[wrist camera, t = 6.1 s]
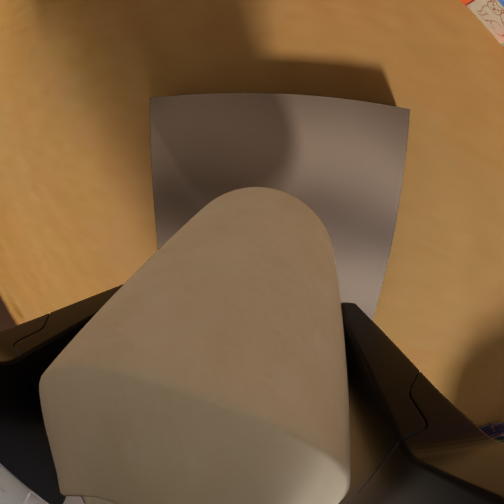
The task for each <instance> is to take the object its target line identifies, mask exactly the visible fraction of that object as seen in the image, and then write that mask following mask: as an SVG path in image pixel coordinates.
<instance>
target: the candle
mask: <svg viewBox="0 0 504 504" xmlns="http://www.w3.org/2000/svg"><path fill="white" fill-rule="evenodd" d="M39 394H40V401H41V408H42V414H43V419H44V424H45V428H46V433H47V436H48V440H49V444H50V448H51V452H52V456H53V460H54V464H55V468H56V472H57V477H58V483H59V489H60V493H61V494H62V495H64V496H81V497H82V499H83V502H84V504H338V503H339V502H340V501H341V500H342V499H343V498H344V497H345V496H346V494H347V492H348V490H349V488H350V416H349V395H348V378H347V364H346V351H345V340H344V329H343V319H342V310H341V301H340V293H339V285H338V277H337V270H336V262H335V256H334V251H333V246H332V243H331V239H330V237H329V234H328V232H327V230H326V228H325V226H324V225H323V223H322V222H321V220H320V219H319V217H318V216H317V215H316V214H315V213H314V211H313V210H311V209H310V208H309V207H308V206H307V205H306V204H305V203H303V202H302V201H300V200H299V199H298V198H296V197H294V196H292V195H290V194H288V193H285V192H282V191H280V190H276V189H271V188H265V187H247V188H242V189H237V190H234V191H231V192H228V193H225V194H223V195H221V196H219V197H217V198H216V199H214V200H213V201H211V202H210V203H208V204H207V205H206V206H205V207H204V208H202V209H201V210H200V211H199V212H198V213H197V214H196V215H195V216H194V217H193V218H191V219H190V220H189V221H188V222H187V223H186V224H185V225H184V226H183V227H182V228H181V229H180V230H179V231H178V232H177V233H176V234H174V235H173V236H172V237H171V238H170V239H169V240H168V241H167V242H166V243H165V244H164V245H163V246H162V247H161V248H160V249H159V250H158V251H157V252H156V253H155V254H154V255H153V256H152V257H151V258H150V259H149V260H148V261H147V262H146V263H145V264H144V265H143V266H142V267H141V268H140V269H139V270H138V271H137V272H136V273H135V274H134V275H133V276H132V277H131V278H130V279H129V280H128V281H127V282H126V283H125V284H124V285H123V286H122V287H121V288H120V289H119V290H118V291H117V292H116V293H115V294H114V295H113V296H112V297H111V298H110V299H109V300H108V301H107V302H106V304H105V305H104V306H103V307H102V308H101V309H100V310H99V311H98V312H97V313H96V314H95V315H94V316H93V317H92V318H91V320H90V321H89V322H88V323H87V324H86V325H85V326H84V327H83V328H82V329H81V330H80V332H79V333H78V334H77V335H76V336H75V337H74V338H73V339H72V340H71V342H70V343H69V344H68V345H67V346H66V347H65V348H64V349H63V351H62V352H61V353H60V354H59V355H58V356H57V358H56V359H55V360H54V361H53V362H52V363H51V365H50V366H49V367H48V368H47V369H46V371H45V372H44V373H43V374H42V376H41V379H40V382H39Z"/></svg>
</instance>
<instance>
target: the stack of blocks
mask: <svg viewBox="0 0 504 504" xmlns="http://www.w3.org/2000/svg"><path fill="white" fill-rule="evenodd" d="M461 1H462V2H463V3H464V4H466V6H467V7H468V8H469V9H470V10H471V11H472V12H473V13H474V15H475V16H476V17H477V18H478V19H479V20H480V21H481V22H482V23H483V24H484V26H485V27H486V28H487V29H488V30H489V31H490V32H491V34H492V35H493V36H494V37H495V38H496V40H497V41H498V42H499V43H500V44H502V45H503V46H504V0H461Z"/></svg>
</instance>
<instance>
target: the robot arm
mask: <svg viewBox="0 0 504 504" xmlns="http://www.w3.org/2000/svg"><path fill="white" fill-rule="evenodd" d="M123 285H124V284H123ZM123 285H120V286H118V287H115V288H113V289H110V290H107V291H105V292H102V293H100V294H97V295H95V296H92V297H89V298H87V299H84V300H82V301H79V302H77V303H74V304H72V305H69V306H67V307H64V308H61V309H59V310H56V311H54V312H51V313H50V314H46V315H44V316H41V317H39V318H36V319H33V320H31V321H28V322H26V323H23V324H20V325H17V326H14V327H11V328H8V329H5V330H2V331H0V504H25V502H26V501H27V499H28V497H29V495H30V494H31V493H32V494H34V495H35V496H37V497H38V498H40V499H41V500H43V501H44V502H46V503H47V504H63V503H64V501H65V498H66V496H64V495H62V494H61V493H60V489H59V483H58V477H57V472H56V468H55V464H54V460H53V456H52V452H51V448H50V444H49V440H48V436H47V433H46V428H45V424H44V419H43V414H42V408H41V401H40V394H39V382H40V379H41V376H42V374H43V373H44V372H45V371H46V369H47V368H48V367H49V366H50V365H51V363H52V362H53V361H54V360H55V359H56V358H57V356H58V355H59V354H60V353H61V352H62V351H63V349H64V348H65V347H66V346H67V345H68V344H69V343H70V342H71V340H72V339H73V338H74V337H75V336H76V335H77V334H78V333H79V332H80V330H81V329H82V328H83V327H84V326H85V325H86V324H87V323H88V322H89V321H90V320H91V318H92V317H93V316H94V315H95V314H96V313H97V312H98V311H99V310H100V309H101V308H102V307H103V306H104V305H105V304H106V302H107V301H108V300H109V299H110V298H111V297H112V296H113V295H114V294H115V293H116V292H117V291H118V290H119V289H120V288H121V287H122V286H123ZM341 310H342V319H343V329H344V340H345V351H346V364H347V378H348V395H349V416H350V488H349V490H348V492H347V494H346V496H345V497H344V498H343V499H342V500H341V501H340V502H339V503H338V504H504V442H500V441H497V440H495V439H493V438H491V437H489V436H488V435H486V434H485V433H484V432H483V431H482V430H480V429H479V428H478V427H477V426H476V425H475V424H474V423H473V422H472V421H471V420H469V419H468V418H467V417H466V416H465V415H464V414H463V413H462V412H461V411H459V410H458V409H457V408H456V407H455V406H454V405H453V404H452V403H451V402H450V401H449V400H448V399H446V398H445V397H444V396H443V395H442V394H441V393H440V392H439V391H438V390H437V389H436V388H435V387H434V386H433V385H432V384H431V382H430V381H429V380H428V379H427V378H426V377H425V376H424V375H423V374H422V373H421V372H419V370H418V369H417V368H416V366H415V365H414V364H413V363H412V362H411V361H410V360H409V359H408V358H407V357H406V356H405V355H404V354H403V353H402V351H401V350H400V349H399V348H398V347H397V346H396V345H395V344H394V343H393V342H392V341H391V340H390V339H389V338H388V337H387V336H386V335H385V333H384V332H383V331H382V330H381V329H380V328H379V327H378V326H377V325H376V324H375V323H374V322H373V321H372V320H371V319H370V318H369V317H368V316H367V315H366V314H365V313H364V312H363V311H362V310H361V309H360V308H359V307H358V306H357V305H356V304H355V303H348V302H342V303H341Z"/></svg>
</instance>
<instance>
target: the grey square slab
mask: <svg viewBox="0 0 504 504" xmlns="http://www.w3.org/2000/svg"><path fill="white" fill-rule="evenodd" d="M409 116H410V109H406V108H401V107H395V106H390V105H384V104H378V103H372V102H365V101H358V100H350V99H342V98H333V97H323V96H311V95H297V94H277V93H209V94H190V95H176V96H164V97H154V98H150V137H151V162H152V180H153V195H154V208H155V219H156V230H157V240H158V249H160V248H161V247H162V246H163V245H164V244H165V243H166V242H167V241H168V240H169V239H170V238H171V237H172V236H173V235H174V234H176V233H177V232H178V231H179V230H180V229H181V228H182V227H183V226H184V225H185V224H186V223H187V222H188V221H189V220H190V219H191V218H193V217H194V216H195V215H196V214H197V213H198V212H199V211H200V210H201V209H202V208H204V207H205V206H206V205H207V204H208V203H210V202H211V201H213V200H214V199H216V198H217V197H219V196H221V195H223V194H225V193H228V192H231V191H234V190H237V189H242V188H247V187H265V188H271V189H276V190H280V191H282V192H285V193H288V194H290V195H292V196H294V197H296V198H298V199H299V200H300V201H302V202H303V203H305V204H306V205H307V206H308V207H309V208H310V209H311V210H313V211H314V213H315V214H316V215H317V216H318V217H319V219H320V220H321V222H322V223H323V225H324V226H325V228H326V230H327V232H328V234H329V237H330V239H331V243H332V246H333V251H334V256H335V262H336V270H337V277H338V285H339V293H340V301H341V303H342V302H348V303H355V304H356V305H357V306H358V307H359V308H360V309H361V310H362V311H363V312H364V313H365V314H366V315H367V316H368V317H369V318H370V319H371V320H372V321H373V318H374V314H375V311H376V307H377V303H378V300H379V296H380V292H381V288H382V284H383V280H384V276H385V272H386V268H387V263H388V259H389V254H390V250H391V245H392V240H393V235H394V230H395V225H396V219H397V214H398V208H399V202H400V196H401V189H402V182H403V175H404V167H405V159H406V150H407V140H408V129H409Z"/></svg>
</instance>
